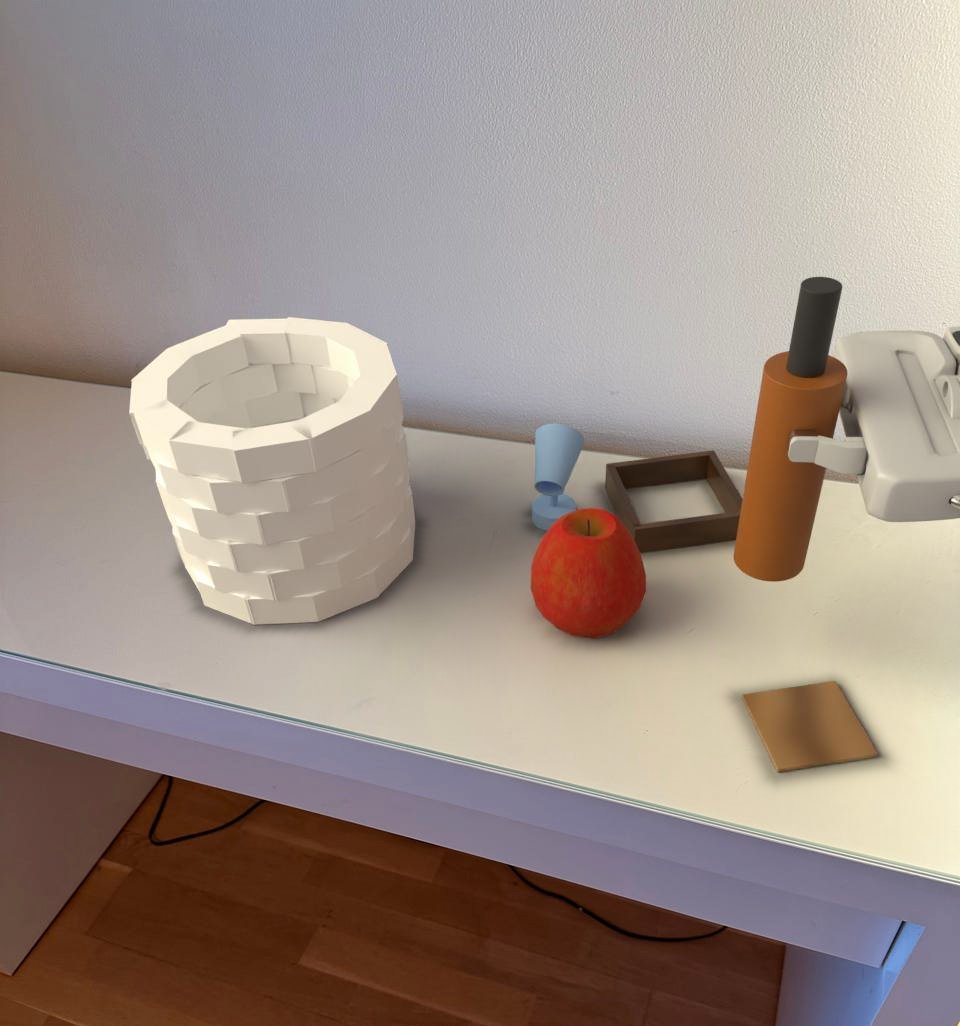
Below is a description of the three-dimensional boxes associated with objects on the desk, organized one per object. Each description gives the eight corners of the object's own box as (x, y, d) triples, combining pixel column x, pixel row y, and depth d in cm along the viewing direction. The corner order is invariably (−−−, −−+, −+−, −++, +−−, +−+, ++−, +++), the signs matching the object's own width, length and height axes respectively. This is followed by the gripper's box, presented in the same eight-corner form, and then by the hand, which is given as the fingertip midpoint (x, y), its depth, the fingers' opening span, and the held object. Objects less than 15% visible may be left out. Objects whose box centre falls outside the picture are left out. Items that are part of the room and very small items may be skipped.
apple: (553, 566, 93) (553, 475, 86) (657, 588, 90) (666, 496, 83) (515, 634, 86) (512, 541, 79) (626, 661, 83) (633, 567, 76)
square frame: (710, 473, 103) (713, 449, 101) (748, 538, 95) (752, 514, 92) (604, 487, 102) (605, 463, 100) (633, 554, 94) (635, 529, 92)
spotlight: (538, 494, 102) (524, 533, 97) (537, 410, 95) (521, 448, 90) (584, 499, 101) (572, 538, 96) (586, 414, 94) (573, 452, 89)
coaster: (834, 683, 80) (835, 680, 80) (877, 757, 74) (878, 753, 74) (741, 697, 79) (742, 694, 79) (777, 772, 74) (778, 769, 73)
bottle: (789, 534, 81) (845, 262, 65) (815, 576, 76) (882, 297, 61) (724, 543, 80) (764, 272, 64) (746, 586, 76) (796, 307, 60)
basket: (413, 620, 88) (389, 442, 75) (157, 631, 89) (90, 457, 76) (423, 468, 107) (405, 304, 94) (211, 478, 107) (163, 317, 94)
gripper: (1010, 548, 62) (791, 541, 64) (941, 390, 77) (764, 388, 79) (1044, 466, 58) (808, 461, 60) (964, 315, 73) (776, 315, 75)
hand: (783, 418), depth 69 cm, fingers closed on bottle, 5 cm apart
